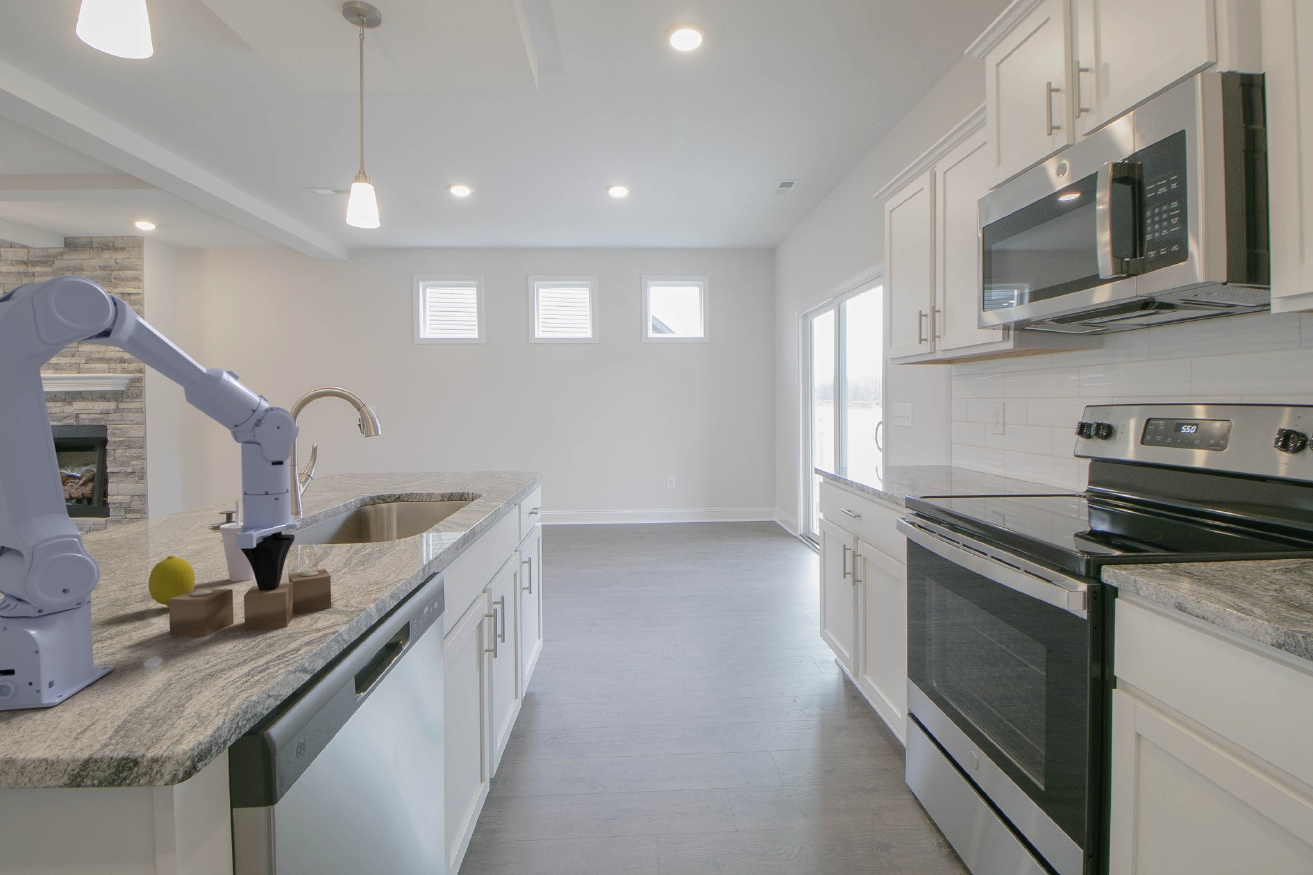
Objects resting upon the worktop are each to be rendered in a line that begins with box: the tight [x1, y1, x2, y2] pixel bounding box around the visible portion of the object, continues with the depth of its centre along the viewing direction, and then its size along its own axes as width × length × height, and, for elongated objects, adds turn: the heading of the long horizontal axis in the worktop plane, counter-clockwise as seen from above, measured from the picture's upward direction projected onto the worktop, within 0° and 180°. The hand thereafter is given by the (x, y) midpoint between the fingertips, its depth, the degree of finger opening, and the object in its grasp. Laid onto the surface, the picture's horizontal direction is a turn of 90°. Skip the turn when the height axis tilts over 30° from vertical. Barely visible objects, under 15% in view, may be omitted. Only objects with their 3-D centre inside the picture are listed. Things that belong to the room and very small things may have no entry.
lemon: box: [148, 555, 196, 608], centre depth 94 cm, size 6×6×8 cm
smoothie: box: [218, 500, 255, 583], centre depth 110 cm, size 6×6×14 cm
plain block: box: [243, 582, 294, 632], centre depth 88 cm, size 5×5×5 cm
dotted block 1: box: [168, 587, 234, 638], centre depth 85 cm, size 5×5×5 cm
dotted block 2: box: [288, 568, 332, 615], centre depth 95 cm, size 5×5×5 cm
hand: (269, 588), depth 88 cm, fingers closed
